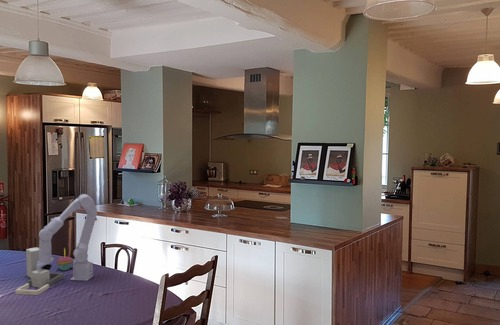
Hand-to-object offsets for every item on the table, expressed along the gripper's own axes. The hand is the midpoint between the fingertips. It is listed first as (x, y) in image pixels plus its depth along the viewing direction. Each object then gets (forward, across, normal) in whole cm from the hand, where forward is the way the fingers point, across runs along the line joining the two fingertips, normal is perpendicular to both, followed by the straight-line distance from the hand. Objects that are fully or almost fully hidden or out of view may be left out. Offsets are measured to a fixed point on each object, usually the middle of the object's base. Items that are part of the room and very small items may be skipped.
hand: (45, 279), depth 227 cm
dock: (+2, -1, 0) cm, 2 cm away
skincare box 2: (+2, +5, 0) cm, 5 cm away
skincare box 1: (+2, -9, -10) cm, 14 cm away
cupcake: (+2, -24, 0) cm, 24 cm away
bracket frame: (+2, +13, 0) cm, 13 cm away
